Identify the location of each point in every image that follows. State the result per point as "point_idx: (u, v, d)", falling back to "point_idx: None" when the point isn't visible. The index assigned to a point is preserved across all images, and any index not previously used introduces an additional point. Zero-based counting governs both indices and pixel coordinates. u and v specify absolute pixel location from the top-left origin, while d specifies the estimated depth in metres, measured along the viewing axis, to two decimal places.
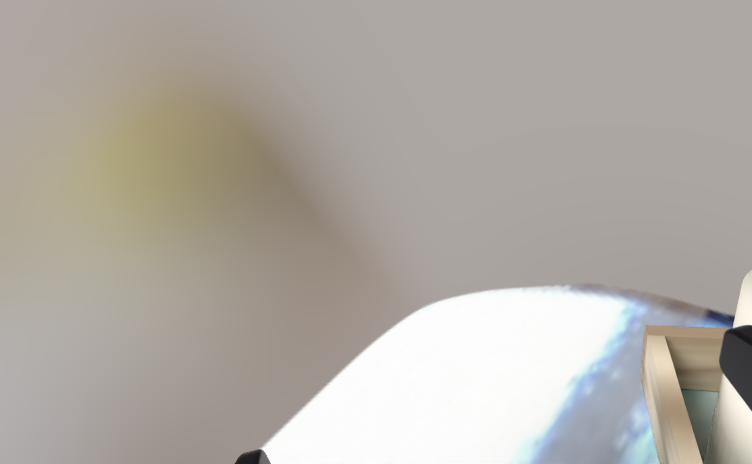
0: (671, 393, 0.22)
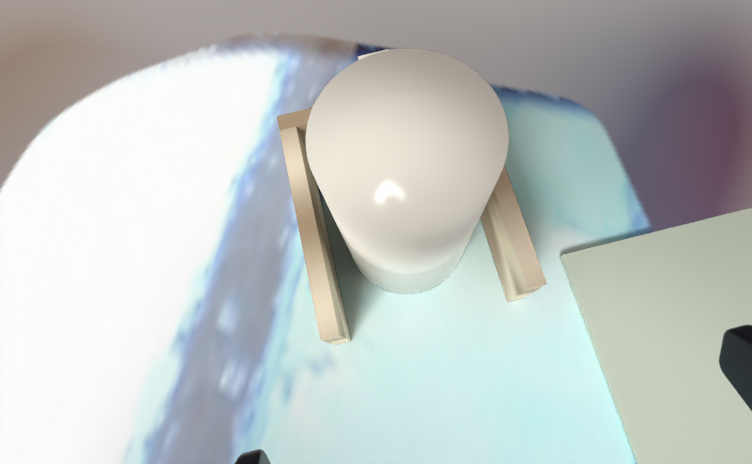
0: (302, 203, 0.21)
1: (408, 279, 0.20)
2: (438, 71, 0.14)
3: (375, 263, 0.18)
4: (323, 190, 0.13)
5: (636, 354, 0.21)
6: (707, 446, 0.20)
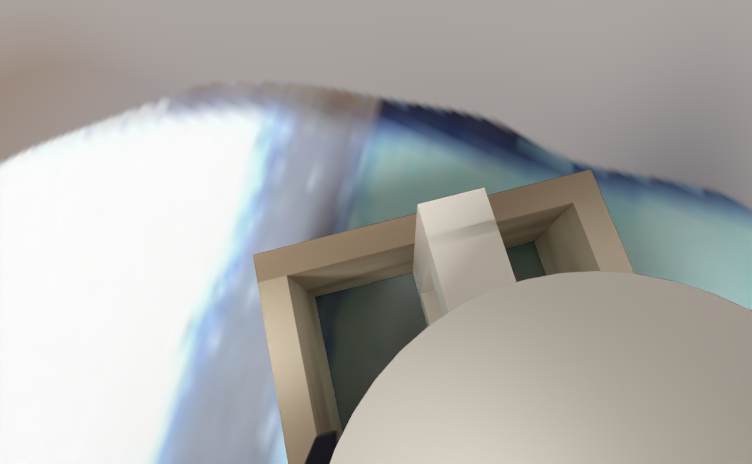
0: (298, 432, 0.11)
1: None
2: (707, 356, 0.05)
3: None
4: None
5: None
6: None
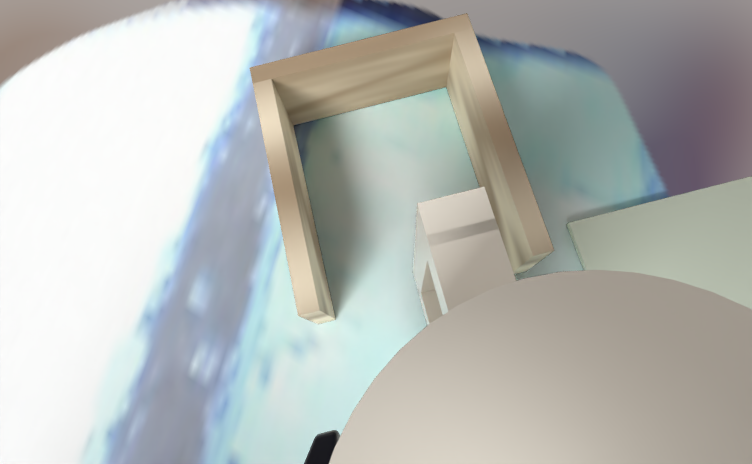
0: (277, 163, 0.18)
1: None
2: (707, 355, 0.05)
3: None
4: None
5: None
6: None
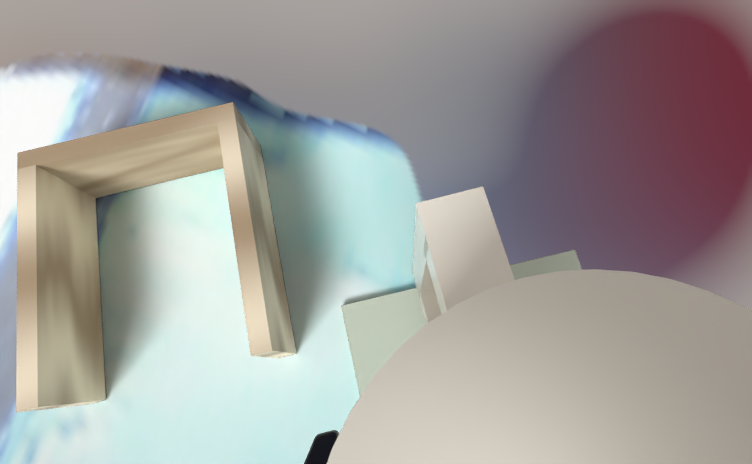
0: (25, 253, 0.19)
1: None
2: (705, 354, 0.05)
3: None
4: None
5: None
6: None
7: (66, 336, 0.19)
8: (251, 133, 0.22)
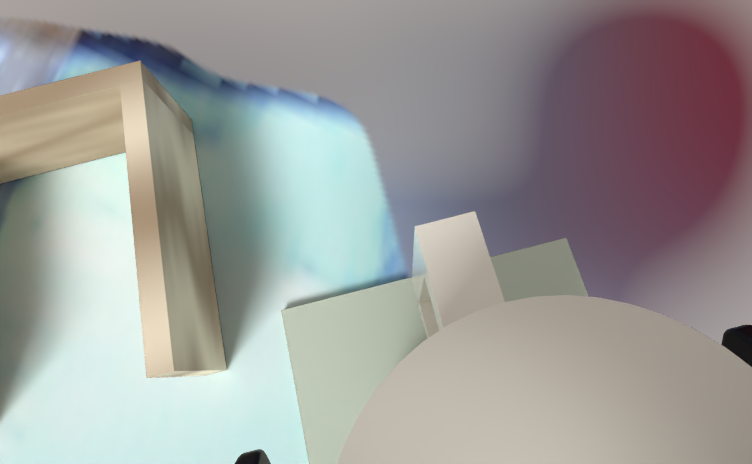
0: None
1: None
2: (657, 368, 0.06)
3: None
4: None
5: None
6: None
7: None
8: (174, 103, 0.18)
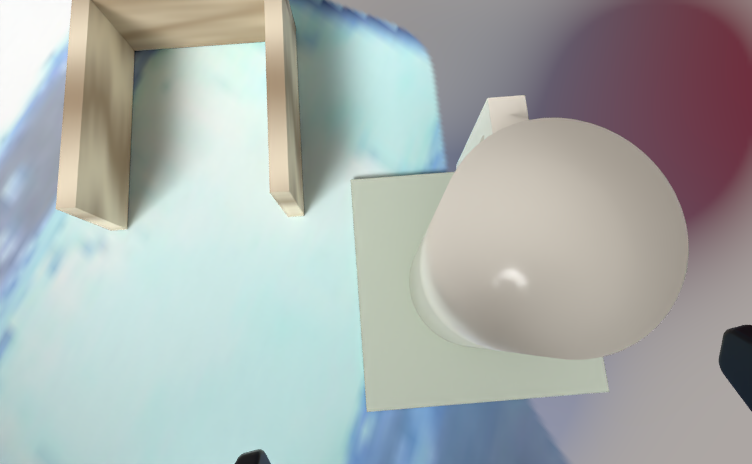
0: (74, 75, 0.20)
1: None
2: (610, 157, 0.12)
3: (461, 336, 0.16)
4: (456, 287, 0.11)
5: (392, 283, 0.22)
6: (431, 375, 0.21)
7: (101, 160, 0.21)
8: (290, 10, 0.24)
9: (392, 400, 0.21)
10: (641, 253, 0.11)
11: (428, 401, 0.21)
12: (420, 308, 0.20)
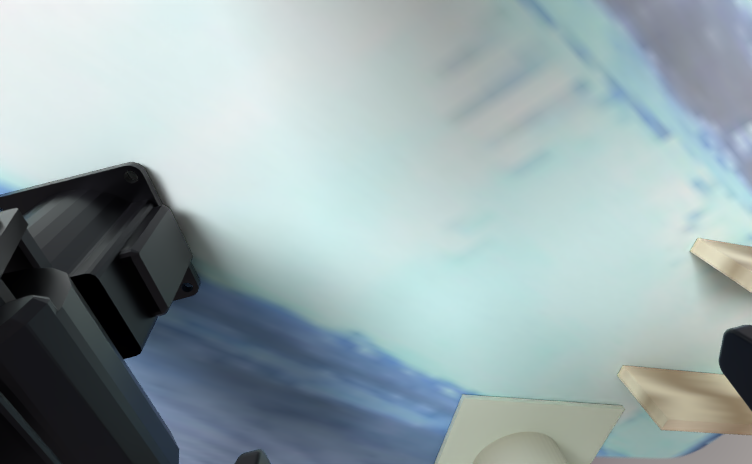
0: None
1: None
2: None
3: None
4: None
5: (539, 423, 0.29)
6: (469, 435, 0.28)
7: None
8: None
9: (463, 413, 0.27)
10: None
11: (453, 431, 0.28)
12: (528, 463, 0.27)
